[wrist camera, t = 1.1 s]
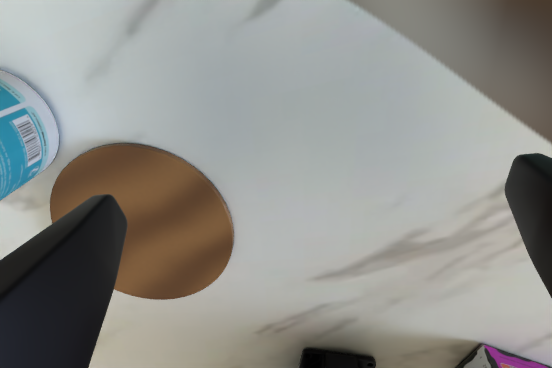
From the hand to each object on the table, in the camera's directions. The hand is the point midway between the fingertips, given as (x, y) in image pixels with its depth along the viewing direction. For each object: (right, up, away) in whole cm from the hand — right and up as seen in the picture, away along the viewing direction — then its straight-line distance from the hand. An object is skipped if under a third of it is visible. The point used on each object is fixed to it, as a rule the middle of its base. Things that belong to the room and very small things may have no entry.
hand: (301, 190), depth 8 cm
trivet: (-10, -3, +19) cm, 22 cm away
